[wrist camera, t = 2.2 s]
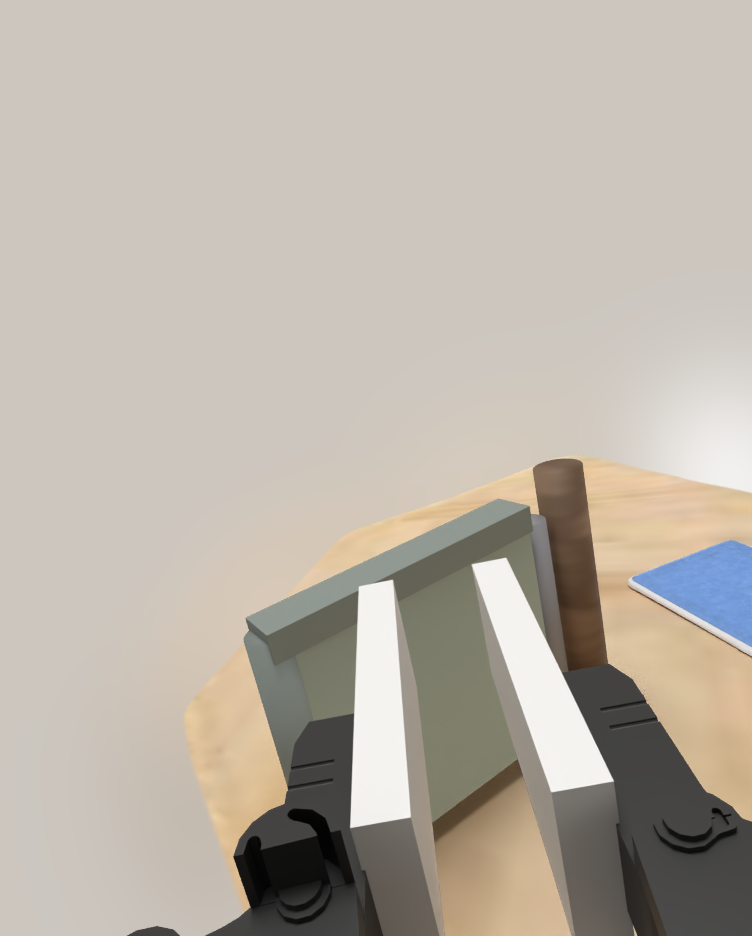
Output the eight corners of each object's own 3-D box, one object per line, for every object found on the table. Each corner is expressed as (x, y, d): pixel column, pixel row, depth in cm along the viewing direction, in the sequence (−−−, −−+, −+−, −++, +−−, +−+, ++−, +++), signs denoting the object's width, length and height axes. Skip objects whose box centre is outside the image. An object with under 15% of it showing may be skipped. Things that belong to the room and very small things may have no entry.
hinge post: (586, 678, 49) (554, 450, 45) (644, 707, 45) (617, 458, 40) (539, 712, 47) (500, 474, 42) (596, 745, 43) (561, 486, 38)
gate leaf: (554, 697, 46) (521, 487, 42) (584, 714, 44) (553, 494, 39) (307, 872, 36) (232, 624, 32) (330, 904, 34) (252, 642, 30)
